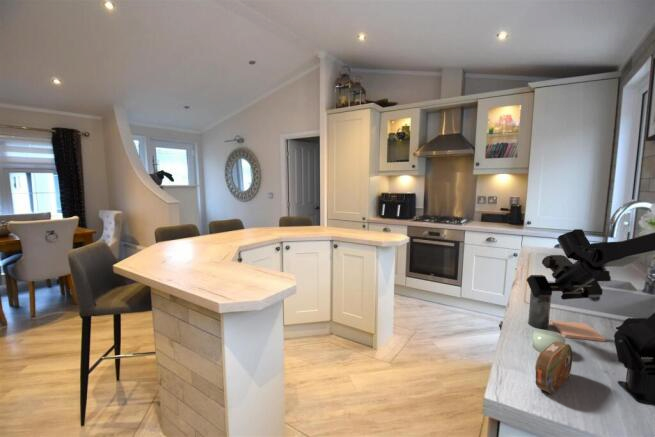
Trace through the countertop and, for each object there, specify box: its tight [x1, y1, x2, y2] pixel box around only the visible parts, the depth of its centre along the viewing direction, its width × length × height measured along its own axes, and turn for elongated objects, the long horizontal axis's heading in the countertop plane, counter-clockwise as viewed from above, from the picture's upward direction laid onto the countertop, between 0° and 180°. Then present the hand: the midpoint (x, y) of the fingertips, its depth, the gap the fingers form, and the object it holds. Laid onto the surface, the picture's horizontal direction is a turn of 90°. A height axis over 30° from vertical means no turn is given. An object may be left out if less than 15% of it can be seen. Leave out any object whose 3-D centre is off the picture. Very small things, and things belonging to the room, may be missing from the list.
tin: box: [534, 342, 573, 395], centre depth 71 cm, size 15×3×8 cm, turn 126°
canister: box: [527, 290, 552, 330], centre depth 99 cm, size 5×5×12 cm
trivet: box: [549, 319, 607, 342], centre depth 96 cm, size 10×10×1 cm
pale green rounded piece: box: [532, 329, 566, 354], centre depth 85 cm, size 7×7×4 cm
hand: (547, 298), depth 96 cm, fingers open, 9 cm apart
